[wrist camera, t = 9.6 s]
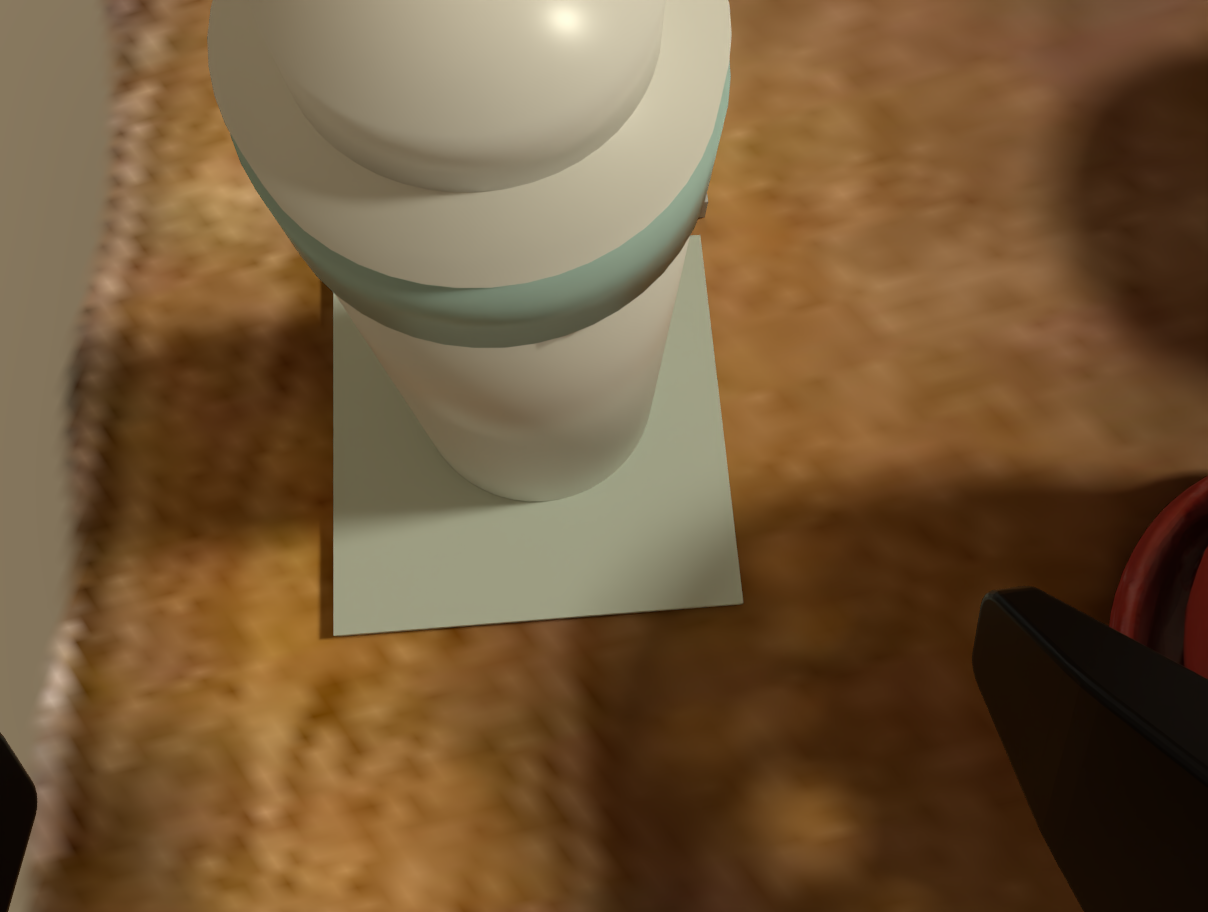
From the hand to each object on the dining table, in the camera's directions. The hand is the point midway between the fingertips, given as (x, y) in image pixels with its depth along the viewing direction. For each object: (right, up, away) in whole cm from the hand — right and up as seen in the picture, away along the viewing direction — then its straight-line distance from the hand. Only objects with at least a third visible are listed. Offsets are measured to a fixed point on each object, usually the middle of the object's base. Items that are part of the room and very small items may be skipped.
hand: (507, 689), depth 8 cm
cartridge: (-1, +4, +15) cm, 15 cm away
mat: (-1, +3, +15) cm, 15 cm away
